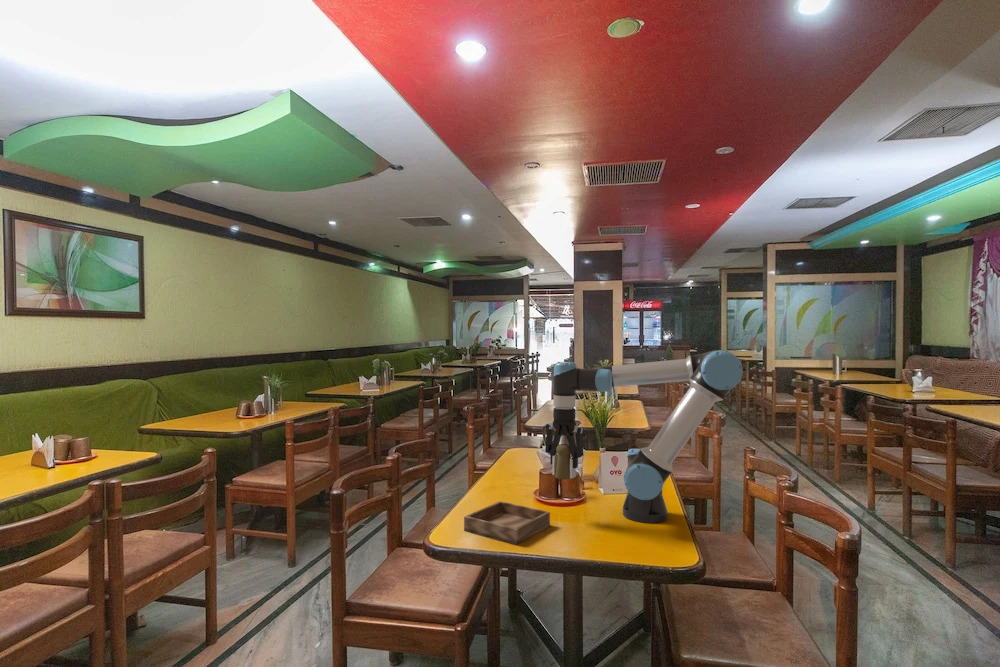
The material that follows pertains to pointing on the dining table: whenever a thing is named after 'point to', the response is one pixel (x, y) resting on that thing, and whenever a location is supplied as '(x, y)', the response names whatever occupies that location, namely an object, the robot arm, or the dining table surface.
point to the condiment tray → (507, 522)
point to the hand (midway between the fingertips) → (563, 475)
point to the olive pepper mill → (563, 462)
